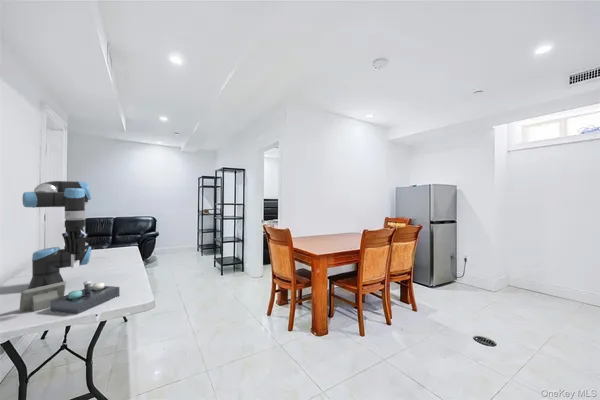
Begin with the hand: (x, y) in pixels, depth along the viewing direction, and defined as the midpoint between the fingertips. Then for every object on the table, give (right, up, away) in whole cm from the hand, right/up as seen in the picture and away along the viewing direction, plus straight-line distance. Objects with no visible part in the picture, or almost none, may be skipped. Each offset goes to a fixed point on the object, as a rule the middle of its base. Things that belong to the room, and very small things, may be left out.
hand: (75, 266), depth 124 cm
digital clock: (-17, -21, +2) cm, 27 cm away
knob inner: (+2, -20, +12) cm, 23 cm away
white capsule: (+1, -15, +6) cm, 16 cm away
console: (+1, -20, +6) cm, 21 cm away
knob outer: (0, -20, 0) cm, 20 cm away
